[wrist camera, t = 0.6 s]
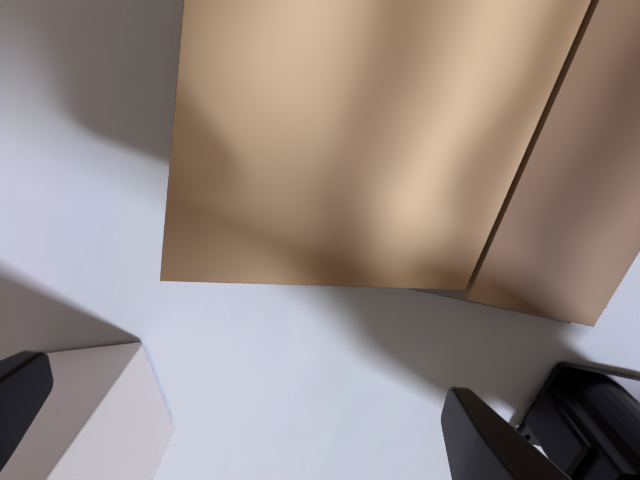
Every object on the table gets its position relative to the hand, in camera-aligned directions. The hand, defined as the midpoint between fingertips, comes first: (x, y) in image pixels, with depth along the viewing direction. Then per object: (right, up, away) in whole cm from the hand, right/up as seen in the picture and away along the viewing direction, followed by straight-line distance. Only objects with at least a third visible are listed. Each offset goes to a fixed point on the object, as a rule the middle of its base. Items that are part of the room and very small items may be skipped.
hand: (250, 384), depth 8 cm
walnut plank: (+14, +8, +9) cm, 19 cm away
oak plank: (+4, +10, +6) cm, 12 cm away
